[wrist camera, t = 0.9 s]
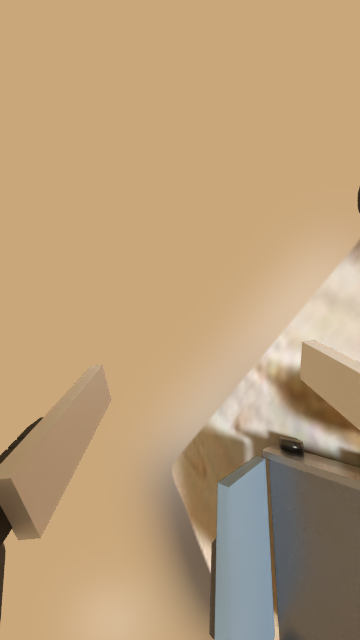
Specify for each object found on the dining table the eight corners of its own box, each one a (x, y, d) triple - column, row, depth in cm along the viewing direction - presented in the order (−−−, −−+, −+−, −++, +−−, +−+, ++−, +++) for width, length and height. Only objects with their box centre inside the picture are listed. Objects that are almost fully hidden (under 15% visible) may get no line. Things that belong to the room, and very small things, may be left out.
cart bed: (276, 434, 29) (261, 440, 25) (410, 467, 20) (424, 486, 16) (291, 640, 22) (274, 699, 18) (514, 845, 13) (593, 1074, 8)
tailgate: (250, 453, 27) (209, 478, 19) (265, 458, 26) (228, 487, 18) (255, 617, 22) (200, 756, 13) (274, 635, 20) (227, 802, 12)
